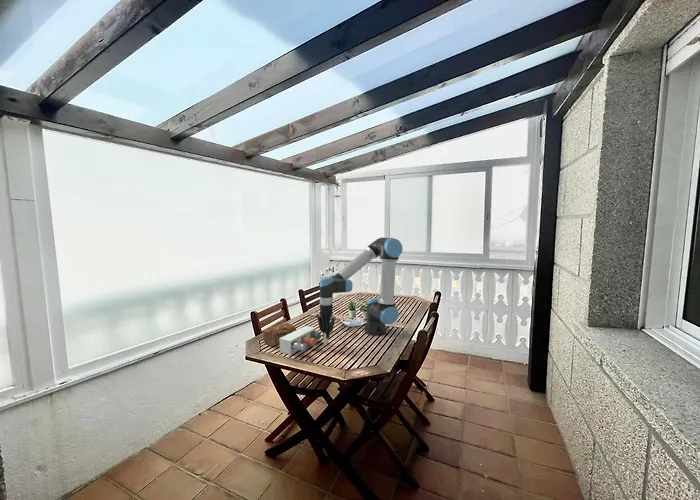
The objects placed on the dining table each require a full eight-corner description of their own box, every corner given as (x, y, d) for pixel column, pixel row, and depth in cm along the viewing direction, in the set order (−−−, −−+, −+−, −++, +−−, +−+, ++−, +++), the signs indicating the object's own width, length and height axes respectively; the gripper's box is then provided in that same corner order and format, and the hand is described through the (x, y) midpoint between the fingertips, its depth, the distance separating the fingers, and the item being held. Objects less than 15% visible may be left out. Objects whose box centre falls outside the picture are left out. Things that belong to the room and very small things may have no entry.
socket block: (315, 340, 183) (315, 327, 182) (290, 354, 162) (290, 341, 161) (305, 337, 187) (305, 325, 186) (279, 351, 166) (279, 338, 165)
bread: (272, 347, 172) (271, 331, 171) (262, 343, 179) (262, 327, 178) (297, 338, 185) (297, 323, 185) (287, 334, 193) (287, 320, 192)
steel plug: (307, 350, 162) (307, 342, 162) (301, 353, 158) (301, 345, 158) (291, 346, 168) (291, 338, 168) (286, 349, 164) (286, 341, 164)
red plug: (316, 344, 170) (316, 337, 170) (311, 347, 166) (311, 339, 166) (301, 341, 176) (301, 333, 175) (296, 343, 172) (296, 336, 171)
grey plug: (321, 338, 180) (320, 331, 179) (316, 341, 176) (316, 333, 175) (306, 335, 185) (306, 328, 185) (302, 337, 181) (302, 330, 181)
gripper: (339, 304, 167) (338, 343, 169) (321, 301, 174) (320, 339, 175) (331, 306, 161) (331, 348, 162) (313, 303, 167) (313, 343, 169)
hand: (326, 343), depth 169 cm, fingers closed
